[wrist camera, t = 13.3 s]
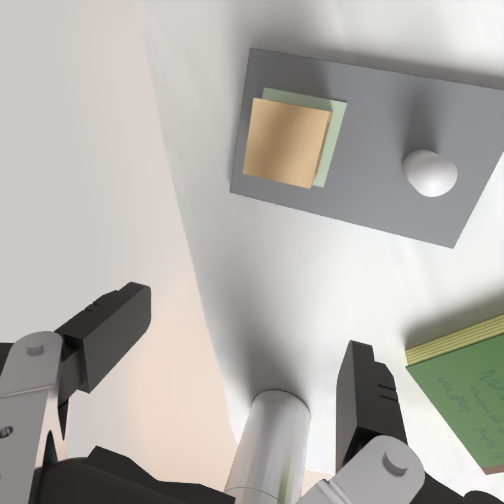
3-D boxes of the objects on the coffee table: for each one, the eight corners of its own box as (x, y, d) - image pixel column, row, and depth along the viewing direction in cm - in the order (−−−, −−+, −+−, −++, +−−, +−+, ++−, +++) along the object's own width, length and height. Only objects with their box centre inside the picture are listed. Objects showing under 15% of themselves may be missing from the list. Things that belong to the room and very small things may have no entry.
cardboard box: (332, 111, 29) (329, 111, 24) (316, 175, 32) (309, 188, 26) (271, 100, 30) (253, 97, 25) (260, 162, 33) (242, 173, 27)
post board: (448, 243, 33) (474, 276, 26) (233, 189, 37) (208, 206, 30) (523, 95, 27) (580, 90, 20) (254, 50, 31) (228, 34, 24)
